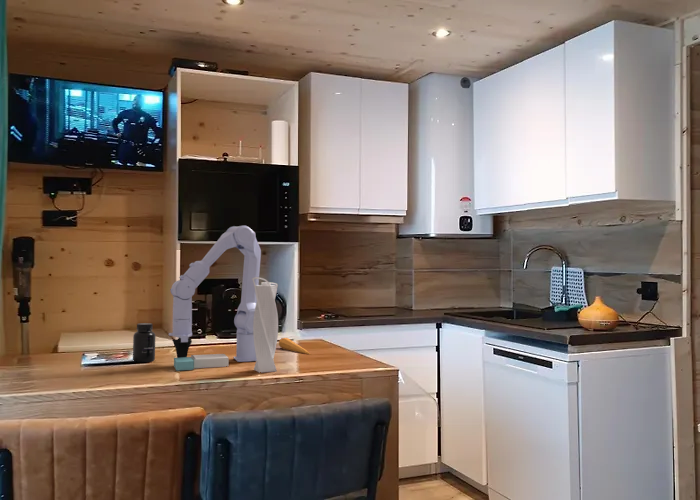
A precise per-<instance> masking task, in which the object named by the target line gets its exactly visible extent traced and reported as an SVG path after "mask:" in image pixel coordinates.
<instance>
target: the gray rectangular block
mask: <svg viewBox="0 0 700 500" xmlns="http://www.w3.org/2000/svg"><path fill="white" fill-rule="evenodd" d="M190 357H191V358H192V360H193V361H194V369H203V368H204V369H205V368H208V369H209V368H222V367H223V368H225V367H226V366H227V367H229V357H228V356H227V355H226V354H225V353H215V354H213V353H212V354H210V353H209V354H191V355H190Z"/></svg>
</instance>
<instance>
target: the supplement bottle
mask: <svg viewBox="0 0 700 500" xmlns="http://www.w3.org/2000/svg"><path fill="white" fill-rule="evenodd" d="M153 329H154V328H153V323H150V322H149V323H147V322H144V323H137V324H136V330H137V331H136V332H134V334H133V336H132V337H133V339H132V361H133V360H134V361H137V362H136V363H150V362H151V363H152V362H154V361H155V359H156V357H155V356H156V333H155V332H154V331H153ZM134 361H133V362H134Z"/></svg>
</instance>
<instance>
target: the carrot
mask: <svg viewBox="0 0 700 500" xmlns="http://www.w3.org/2000/svg"><path fill="white" fill-rule="evenodd" d="M278 346H279V347H280V348H281V349H282V350H286V351H291V352H296V353H301V354H304V355H305V354H306V355H311V356H312V354H311V353H310V352H309V351H308V350H307V349H305V348H303V347H302V346H301V345H299V344H298V343H296V342H295V341H293V340H292V339H290V338H288V337H281V338H280V339H279V340H278Z"/></svg>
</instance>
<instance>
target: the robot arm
mask: <svg viewBox="0 0 700 500" xmlns="http://www.w3.org/2000/svg"><path fill="white" fill-rule="evenodd" d="M232 248H236V249H238V251H240V253H241V254H243V256H244V257H243V259H244V260H243V269H242V270H243V271H242V272H243V273H242V284H241V298H240V303H239V305H238V307H237V312H236V314H235V316H234V320H233V323H234V326H235V328H236V349H235V350H236V353H235V354H236V356H233V359H234V360H235V361H237V362H238V363H239V362H242V363H243V362H256V360H257V359H256V353H255V346H254V336H253V320H254V312H255V307H256V303H257V299H256V293H255V287H254V283H253V280H252V279H253V278H254V277H260V269H261V258H262V257H261V256H262V250H261V247H260V245H259V242H258V240H257V237H256V232H255V231H254V230H253V229H251V227H249V226H247V225H239V226H235V225H233V226H230V227H229V228H227V230H226V231H225V232H224V233H222V234H221V235H220V237H219V238H218V239H217V241H216V242H215V243H214V244H213V245H212V247H211V248H210V249H209V250H208V251H207V253H206V254H205V256H203V258H202V259H201V260H196V261H194V262H191V263H189V265H188V266H189V268H188V269H187V270H186V271H185V272H184V274H181V275H180V276H179V277H178V278H179V280H176V281H174V283H173V284H172V285H171V288H170V293H171V295H172V297H173V299H172V300H173V301H172V332H168V336H170V337H171V336H172V337H174V338H177V339H172V340H171V341H172V343H173V346H174V348H175V354H176V358H179V357H188V352H189V349H190V347H191V344H193V343H192V342H193V341H192V339H191V338H190V337H192V336H193V331H192V330H193V329H192V328H193V326H192V325H193V304H192V303H193V298H192V297H193V296H194V295H195V293H196V289H197V288H198V286H199V285H200V284H201V283H202V282H203V281H204V280H206V278H207V276H208V275H209V274H210V267H211V266H212V265H213V264H214V263H215V262H216V261H217V260H218V259H219V258H220V257H221V256H222V254H224V252H226V251H227V250H229V249H232ZM254 282H255V285H260V284H259V282H260V279H254Z"/></svg>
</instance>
